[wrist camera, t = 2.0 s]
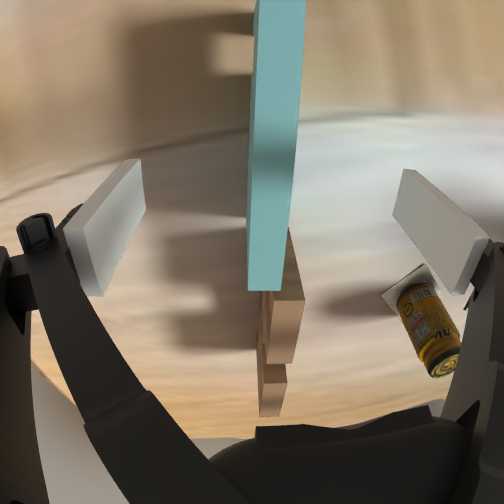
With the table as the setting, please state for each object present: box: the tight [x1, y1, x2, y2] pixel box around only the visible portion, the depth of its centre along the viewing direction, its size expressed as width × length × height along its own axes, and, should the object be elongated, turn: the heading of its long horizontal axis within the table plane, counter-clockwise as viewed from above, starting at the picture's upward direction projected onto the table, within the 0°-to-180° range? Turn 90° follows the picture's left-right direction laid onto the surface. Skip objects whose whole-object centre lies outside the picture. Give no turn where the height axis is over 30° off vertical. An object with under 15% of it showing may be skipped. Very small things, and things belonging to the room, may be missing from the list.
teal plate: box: [246, 0, 306, 291], centre depth 22 cm, size 20×2×11 cm, turn 178°
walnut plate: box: [256, 227, 305, 417], centre depth 34 cm, size 20×2×11 cm, turn 178°
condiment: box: [380, 264, 461, 378], centre depth 35 cm, size 7×8×12 cm
